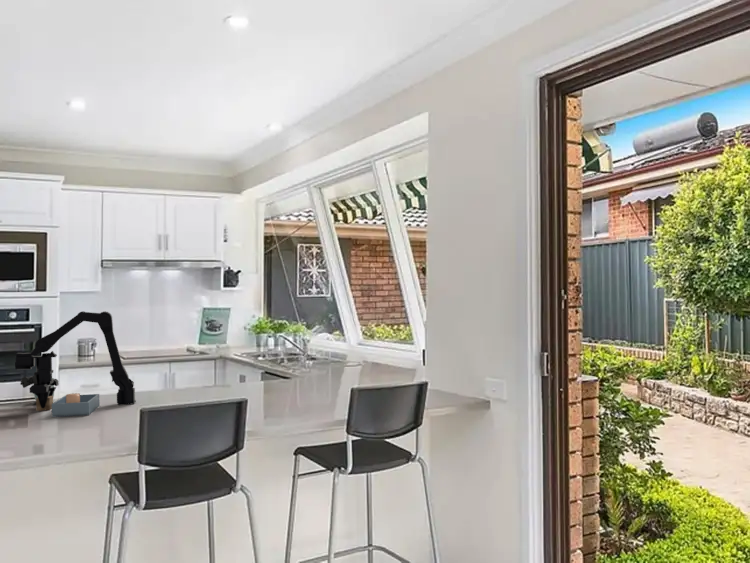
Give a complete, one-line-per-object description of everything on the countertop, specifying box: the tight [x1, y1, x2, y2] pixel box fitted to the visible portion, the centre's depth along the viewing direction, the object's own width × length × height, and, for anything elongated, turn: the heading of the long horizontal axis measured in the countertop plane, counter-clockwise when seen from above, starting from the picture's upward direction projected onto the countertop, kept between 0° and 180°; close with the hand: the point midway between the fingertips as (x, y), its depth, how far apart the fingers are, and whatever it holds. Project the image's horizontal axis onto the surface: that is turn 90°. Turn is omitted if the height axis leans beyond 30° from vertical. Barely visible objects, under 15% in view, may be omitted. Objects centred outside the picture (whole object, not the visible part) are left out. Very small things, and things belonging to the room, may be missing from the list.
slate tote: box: [51, 393, 101, 418], centre depth 270 cm, size 13×19×5 cm
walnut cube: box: [35, 396, 54, 412], centre depth 275 cm, size 5×5×5 cm
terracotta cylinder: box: [65, 392, 81, 403], centre depth 265 cm, size 5×5×7 cm
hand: (44, 406), depth 275 cm, fingers closed on walnut cube, 5 cm apart
